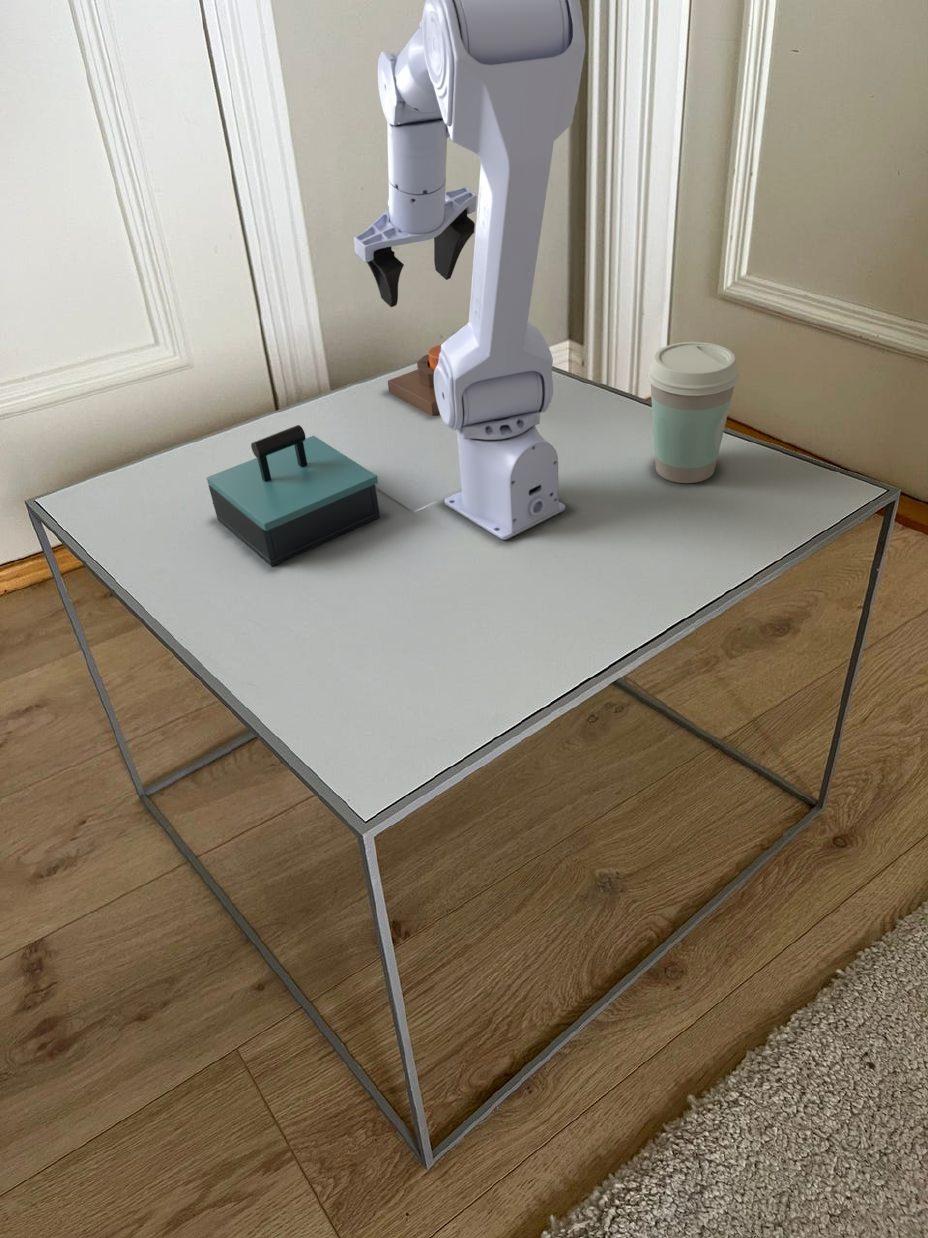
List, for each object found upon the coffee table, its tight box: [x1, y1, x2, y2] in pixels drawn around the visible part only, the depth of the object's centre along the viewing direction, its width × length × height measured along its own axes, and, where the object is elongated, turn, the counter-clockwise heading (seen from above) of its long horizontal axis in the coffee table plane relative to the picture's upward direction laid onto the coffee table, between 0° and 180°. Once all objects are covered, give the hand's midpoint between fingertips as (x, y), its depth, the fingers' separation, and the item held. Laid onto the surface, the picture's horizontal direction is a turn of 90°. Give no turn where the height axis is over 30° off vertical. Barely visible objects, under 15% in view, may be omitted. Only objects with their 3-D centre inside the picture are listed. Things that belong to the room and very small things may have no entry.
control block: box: [387, 353, 440, 417], centre depth 114 cm, size 12×9×4 cm
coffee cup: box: [646, 341, 740, 484], centre depth 93 cm, size 9×8×12 cm
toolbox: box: [206, 424, 379, 531], centre depth 90 cm, size 12×12×5 cm
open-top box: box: [208, 484, 381, 567], centre depth 93 cm, size 11×12×4 cm
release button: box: [428, 344, 442, 370], centre depth 113 cm, size 4×4×2 cm
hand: (416, 287), depth 106 cm, fingers open, 7 cm apart
